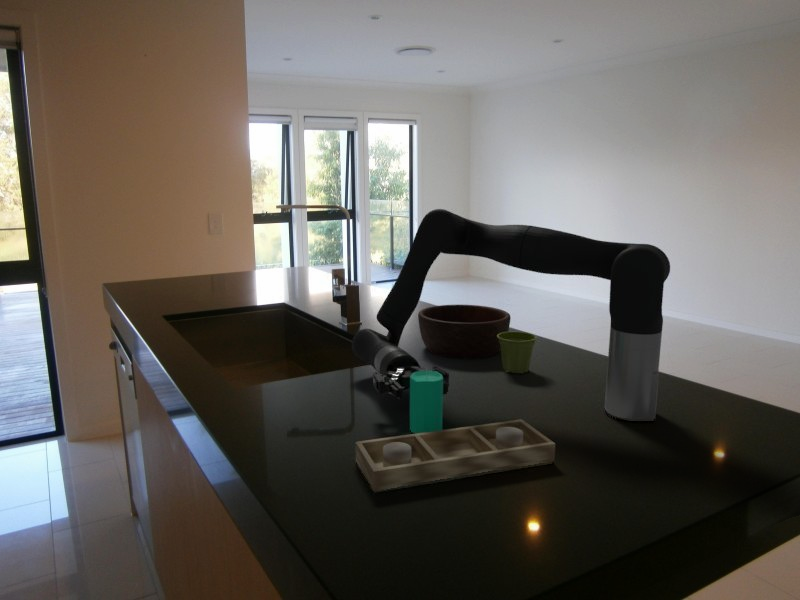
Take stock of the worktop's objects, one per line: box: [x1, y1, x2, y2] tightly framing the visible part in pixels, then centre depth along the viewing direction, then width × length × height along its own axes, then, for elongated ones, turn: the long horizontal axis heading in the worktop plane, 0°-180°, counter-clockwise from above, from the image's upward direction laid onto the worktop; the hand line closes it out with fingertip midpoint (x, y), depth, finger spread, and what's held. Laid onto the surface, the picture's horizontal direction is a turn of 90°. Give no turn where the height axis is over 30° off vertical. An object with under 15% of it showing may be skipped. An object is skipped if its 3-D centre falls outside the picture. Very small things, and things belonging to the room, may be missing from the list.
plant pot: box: [497, 331, 538, 374], centre depth 143 cm, size 9×9×9 cm
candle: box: [409, 367, 444, 434], centre depth 107 cm, size 6×6×12 cm
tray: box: [354, 418, 556, 492], centre depth 95 cm, size 30×11×4 cm, turn 109°
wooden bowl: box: [417, 304, 511, 359], centre depth 161 cm, size 25×25×10 cm
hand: (423, 391), depth 108 cm, fingers open, 8 cm apart
